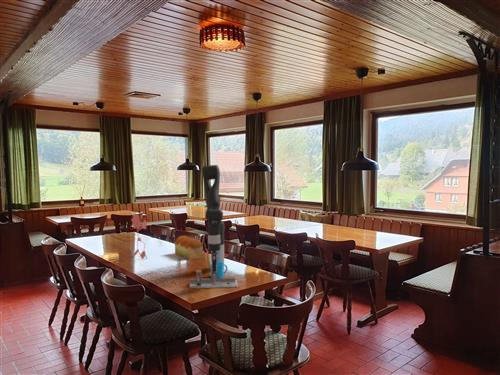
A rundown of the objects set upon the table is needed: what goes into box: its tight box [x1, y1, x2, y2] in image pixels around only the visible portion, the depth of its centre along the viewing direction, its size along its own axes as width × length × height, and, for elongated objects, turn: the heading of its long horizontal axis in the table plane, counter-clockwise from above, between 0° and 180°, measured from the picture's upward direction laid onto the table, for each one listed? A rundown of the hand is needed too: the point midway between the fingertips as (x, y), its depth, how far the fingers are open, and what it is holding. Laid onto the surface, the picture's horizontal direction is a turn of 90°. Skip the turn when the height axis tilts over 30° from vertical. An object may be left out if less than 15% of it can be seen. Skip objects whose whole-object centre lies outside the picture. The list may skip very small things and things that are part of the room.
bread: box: [174, 235, 204, 260], centre depth 304 cm, size 25×12×15 cm, turn 36°
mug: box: [210, 262, 228, 278], centre depth 247 cm, size 12×8×8 cm
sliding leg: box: [211, 265, 217, 283], centre depth 228 cm, size 8×3×10 cm, turn 6°
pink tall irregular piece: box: [126, 213, 148, 262], centre depth 292 cm, size 15×26×35 cm, turn 45°
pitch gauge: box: [189, 269, 239, 289], centre depth 227 cm, size 10×28×8 cm, turn 96°
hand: (214, 270), depth 229 cm, fingers closed on sliding leg, 3 cm apart
